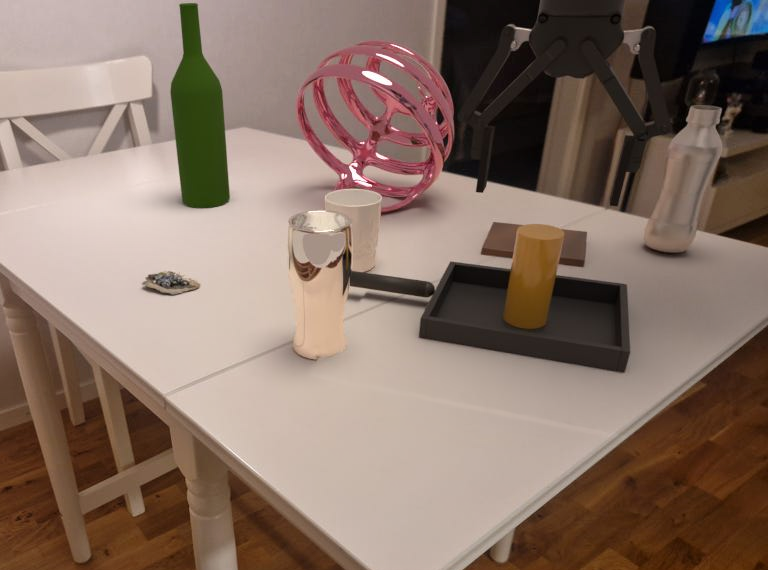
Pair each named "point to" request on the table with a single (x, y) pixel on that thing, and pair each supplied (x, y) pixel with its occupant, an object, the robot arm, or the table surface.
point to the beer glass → (319, 279)
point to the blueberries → (170, 282)
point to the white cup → (359, 222)
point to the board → (505, 235)
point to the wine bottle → (198, 121)
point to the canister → (532, 275)
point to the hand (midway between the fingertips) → (545, 195)
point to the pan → (551, 342)
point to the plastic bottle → (685, 181)
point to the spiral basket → (380, 126)
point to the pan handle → (392, 284)
